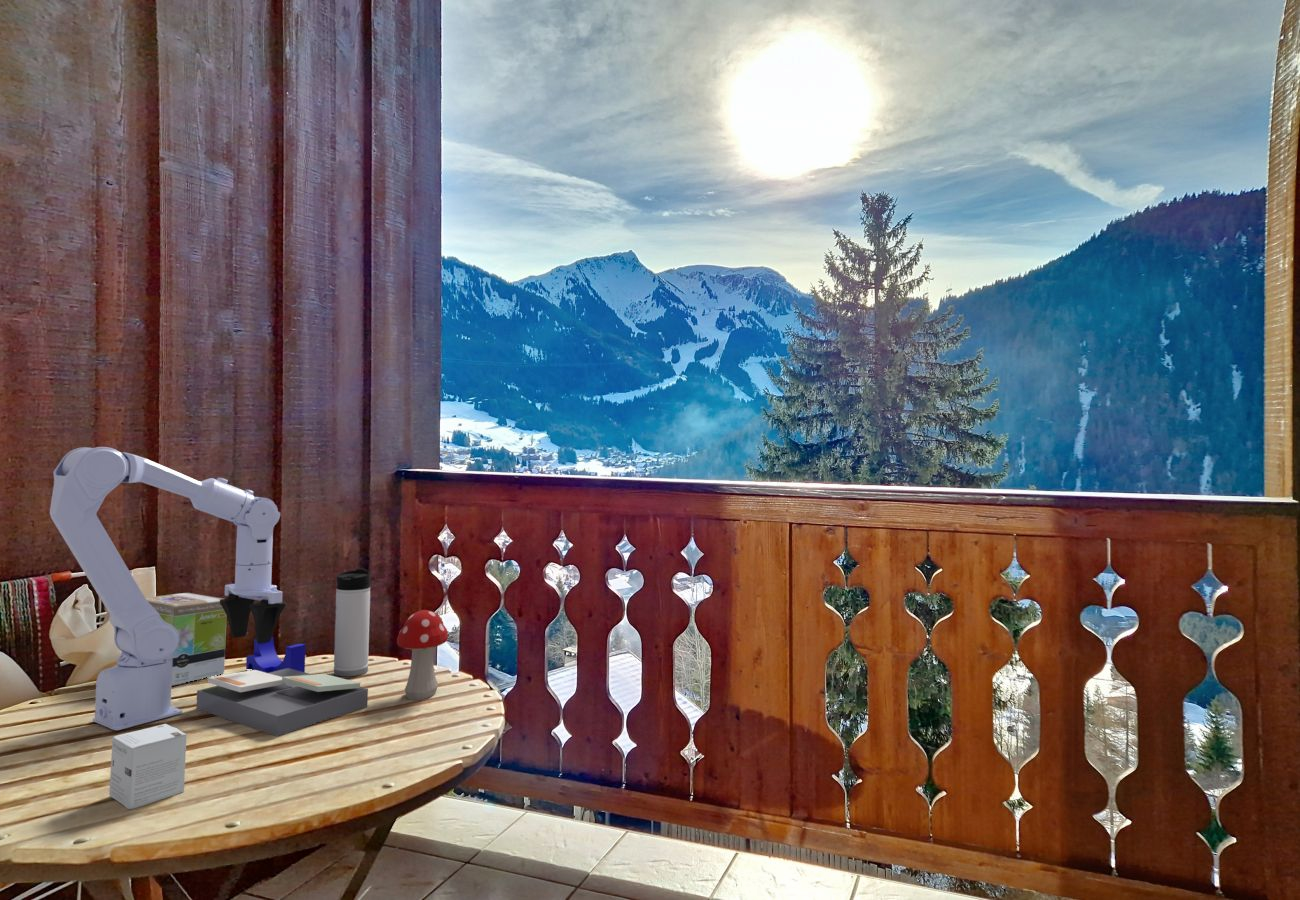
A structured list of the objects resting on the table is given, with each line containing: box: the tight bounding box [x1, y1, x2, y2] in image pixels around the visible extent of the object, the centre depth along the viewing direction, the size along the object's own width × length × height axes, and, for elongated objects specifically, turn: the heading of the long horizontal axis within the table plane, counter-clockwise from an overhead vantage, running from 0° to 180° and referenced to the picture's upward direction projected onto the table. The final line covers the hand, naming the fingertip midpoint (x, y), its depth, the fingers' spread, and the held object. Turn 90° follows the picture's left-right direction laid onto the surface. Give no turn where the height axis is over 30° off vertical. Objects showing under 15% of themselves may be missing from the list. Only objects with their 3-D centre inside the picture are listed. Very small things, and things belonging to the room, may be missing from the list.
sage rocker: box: [281, 673, 361, 692], centre depth 118 cm, size 8×10×1 cm
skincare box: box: [109, 723, 188, 810], centre depth 87 cm, size 6×6×7 cm
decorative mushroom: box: [396, 609, 449, 701], centre depth 127 cm, size 10×9×15 cm
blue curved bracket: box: [245, 636, 306, 673], centre depth 139 cm, size 12×4×6 cm, turn 60°
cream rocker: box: [207, 670, 287, 692], centre depth 119 cm, size 8×10×1 cm
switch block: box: [195, 668, 369, 737], centre depth 121 cm, size 22×22×3 cm
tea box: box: [145, 592, 227, 687], centre depth 136 cm, size 15×10×15 cm
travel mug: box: [333, 568, 371, 678], centre depth 140 cm, size 6×7×20 cm
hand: (251, 639), depth 126 cm, fingers open, 7 cm apart
